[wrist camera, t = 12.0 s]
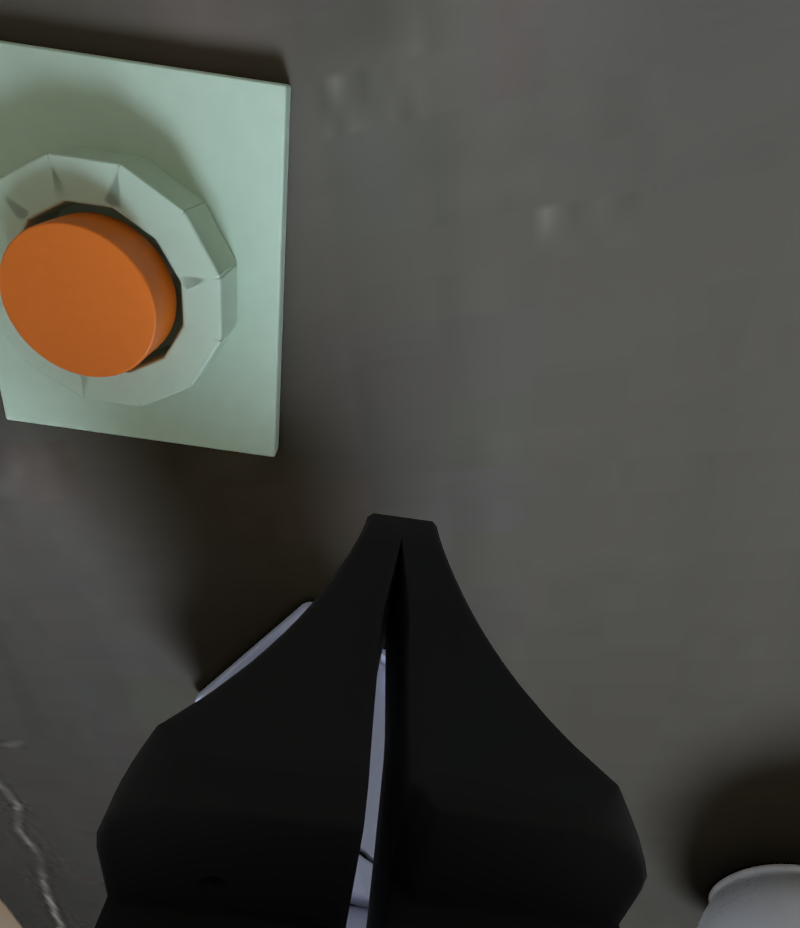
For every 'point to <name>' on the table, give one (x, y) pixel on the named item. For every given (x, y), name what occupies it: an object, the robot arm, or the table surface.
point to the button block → (156, 236)
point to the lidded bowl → (755, 899)
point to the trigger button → (88, 293)
